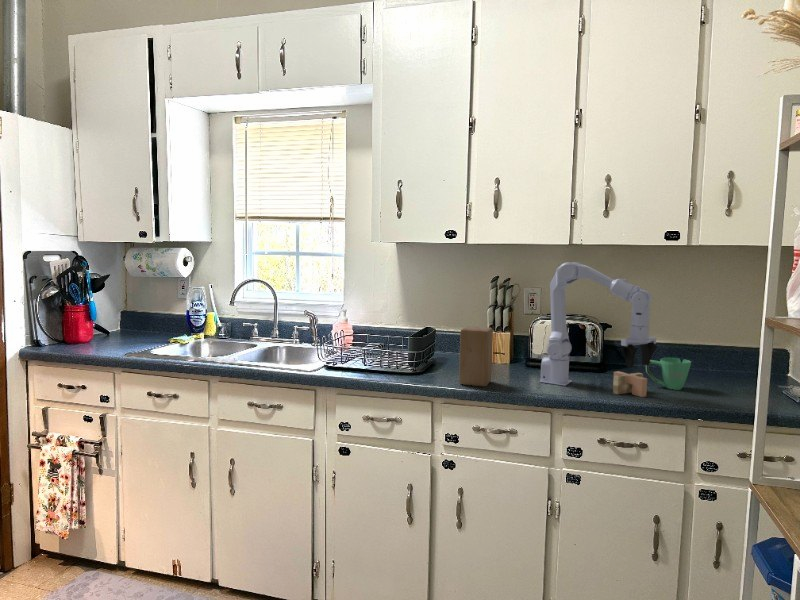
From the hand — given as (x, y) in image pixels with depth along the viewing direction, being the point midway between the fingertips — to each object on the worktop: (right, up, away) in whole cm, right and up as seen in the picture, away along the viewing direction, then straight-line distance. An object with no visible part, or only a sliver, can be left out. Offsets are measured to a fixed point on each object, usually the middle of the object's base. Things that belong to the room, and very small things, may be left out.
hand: (637, 365), depth 190 cm
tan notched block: (-2, -9, +4) cm, 10 cm away
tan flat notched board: (-1, -10, +3) cm, 10 cm away
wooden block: (-53, -8, +13) cm, 55 cm away
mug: (+15, -9, +11) cm, 21 cm away
